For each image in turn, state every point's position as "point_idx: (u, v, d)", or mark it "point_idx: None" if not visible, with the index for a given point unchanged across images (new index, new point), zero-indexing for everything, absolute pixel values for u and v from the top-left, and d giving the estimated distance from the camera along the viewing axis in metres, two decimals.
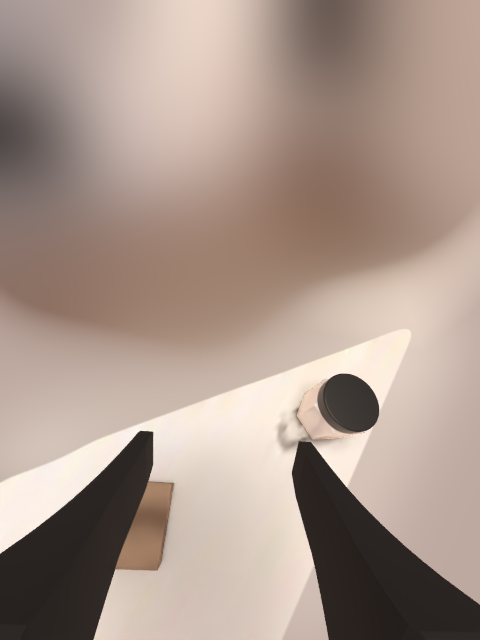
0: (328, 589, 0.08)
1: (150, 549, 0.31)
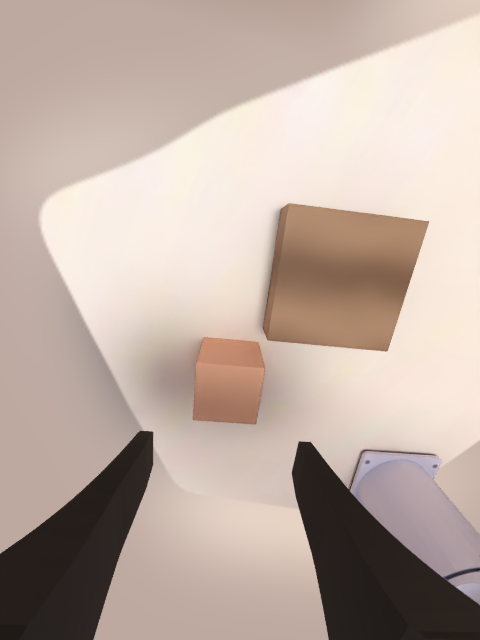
0: (328, 589, 0.08)
1: (378, 325, 0.17)
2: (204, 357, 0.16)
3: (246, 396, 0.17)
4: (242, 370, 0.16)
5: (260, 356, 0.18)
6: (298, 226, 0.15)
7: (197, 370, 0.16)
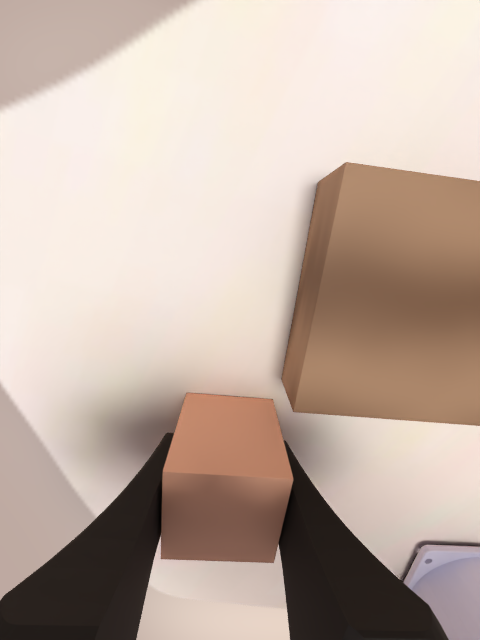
0: (291, 588, 0.08)
1: None
2: (180, 452, 0.09)
3: (258, 522, 0.09)
4: (251, 483, 0.08)
5: (280, 440, 0.10)
6: (361, 209, 0.08)
7: (165, 484, 0.08)
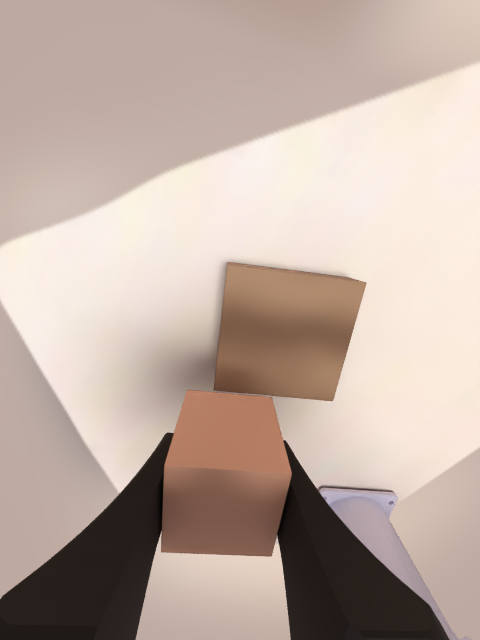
0: (291, 588, 0.08)
1: (323, 377, 0.18)
2: (181, 447, 0.09)
3: (256, 516, 0.09)
4: (250, 478, 0.09)
5: (279, 436, 0.10)
6: (237, 286, 0.15)
7: (166, 477, 0.08)
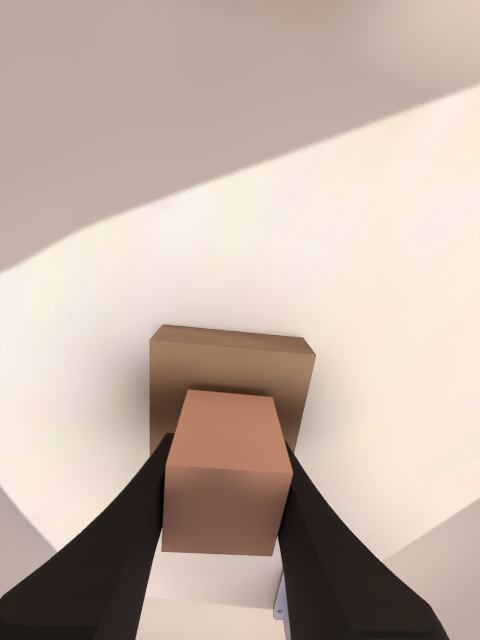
0: (291, 588, 0.08)
1: None
2: (183, 446, 0.09)
3: (257, 516, 0.09)
4: (252, 477, 0.09)
5: (280, 436, 0.10)
6: (164, 361, 0.13)
7: (167, 477, 0.08)
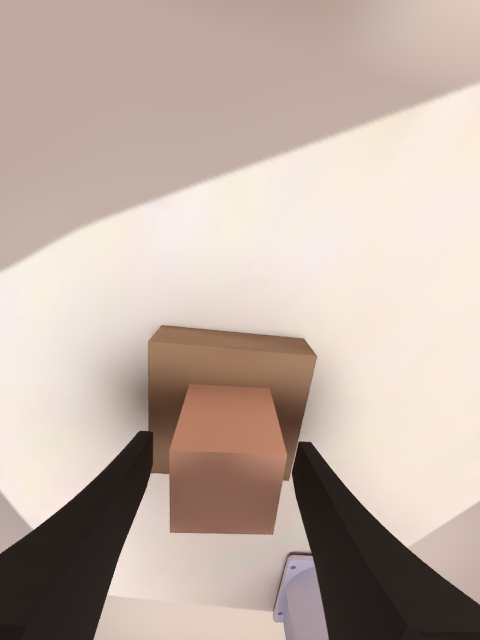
0: (328, 589, 0.08)
1: None
2: (184, 434, 0.10)
3: (256, 496, 0.10)
4: (249, 459, 0.09)
5: (276, 422, 0.11)
6: (163, 363, 0.13)
7: (172, 461, 0.09)
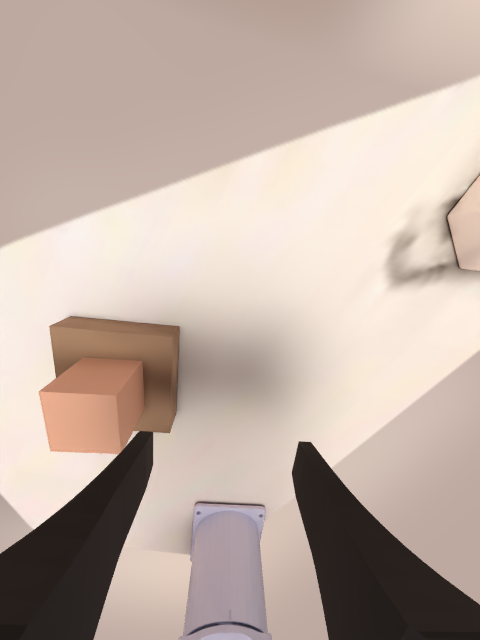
0: (328, 589, 0.08)
1: (155, 413, 0.20)
2: (55, 384, 0.15)
3: (103, 425, 0.15)
4: (92, 398, 0.15)
5: (126, 379, 0.16)
6: (62, 342, 0.18)
7: (42, 399, 0.15)
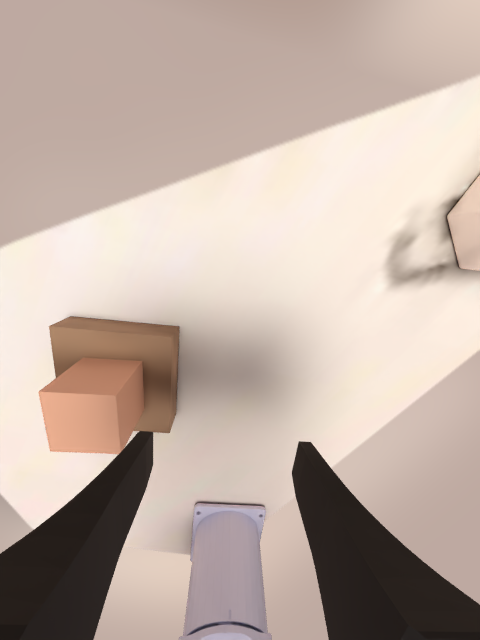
0: (328, 589, 0.08)
1: (155, 414, 0.20)
2: (55, 384, 0.15)
3: (103, 425, 0.15)
4: (92, 398, 0.15)
5: (126, 380, 0.16)
6: (62, 342, 0.18)
7: (41, 399, 0.15)
